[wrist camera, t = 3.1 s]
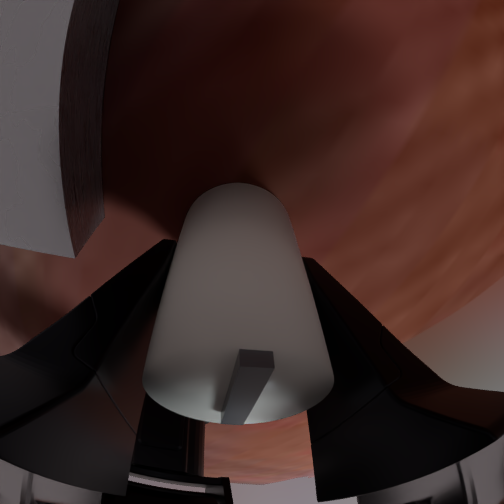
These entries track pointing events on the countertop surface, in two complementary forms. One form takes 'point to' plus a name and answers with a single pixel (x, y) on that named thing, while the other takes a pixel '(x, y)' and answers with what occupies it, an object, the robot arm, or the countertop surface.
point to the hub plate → (52, 121)
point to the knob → (237, 316)
